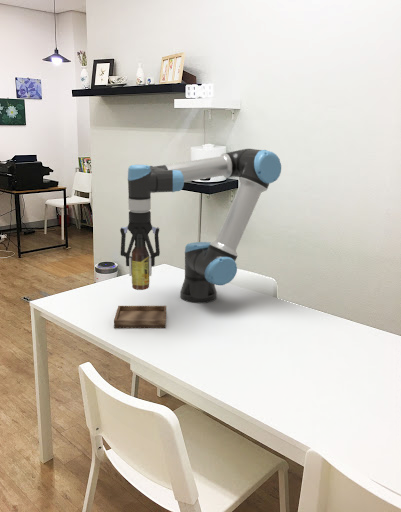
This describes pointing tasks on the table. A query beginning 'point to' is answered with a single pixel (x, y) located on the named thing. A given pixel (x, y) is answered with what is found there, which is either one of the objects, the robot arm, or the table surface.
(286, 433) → the table surface
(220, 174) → the robot arm
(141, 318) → the tray
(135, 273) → the sauce bottle
